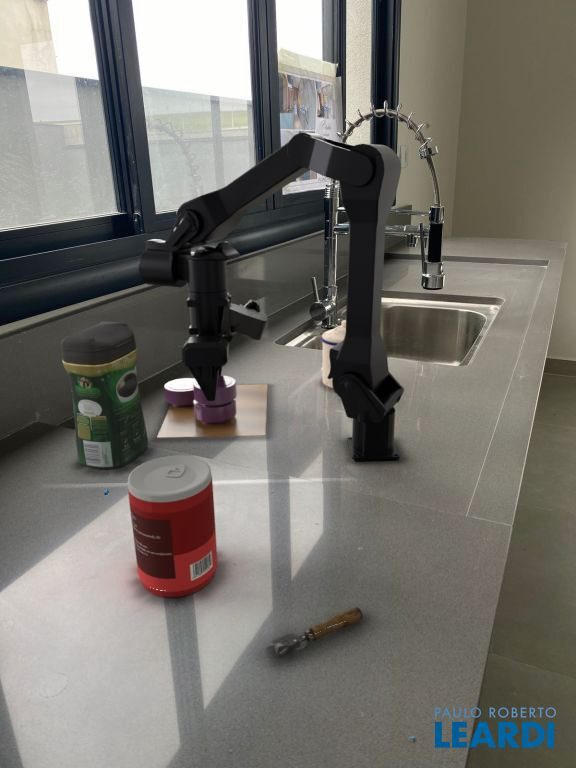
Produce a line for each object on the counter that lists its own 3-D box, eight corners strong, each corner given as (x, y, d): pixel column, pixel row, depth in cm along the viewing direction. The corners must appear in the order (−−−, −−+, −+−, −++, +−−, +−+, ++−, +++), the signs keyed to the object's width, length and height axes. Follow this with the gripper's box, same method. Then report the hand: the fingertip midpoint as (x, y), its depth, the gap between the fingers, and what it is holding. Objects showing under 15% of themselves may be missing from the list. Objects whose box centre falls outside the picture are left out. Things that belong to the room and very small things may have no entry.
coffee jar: (110, 438, 89) (94, 315, 83) (156, 445, 87) (144, 319, 81) (67, 468, 81) (46, 333, 74) (118, 476, 78) (100, 338, 72)
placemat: (265, 437, 89) (265, 435, 89) (156, 440, 89) (156, 437, 88) (267, 386, 109) (267, 384, 109) (179, 388, 109) (179, 385, 109)
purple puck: (237, 407, 91) (236, 388, 90) (193, 409, 90) (192, 390, 89) (236, 391, 97) (235, 373, 96) (194, 394, 96) (193, 376, 95)
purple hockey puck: (202, 408, 99) (201, 390, 98) (162, 409, 99) (160, 391, 98) (207, 393, 105) (206, 377, 104) (169, 394, 105) (167, 378, 104)
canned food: (220, 547, 63) (214, 453, 60) (214, 598, 56) (207, 494, 52) (147, 549, 63) (136, 455, 59) (131, 601, 56) (118, 497, 52)
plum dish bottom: (235, 425, 92) (234, 407, 91) (192, 426, 92) (190, 408, 91) (237, 409, 98) (236, 391, 97) (197, 410, 98) (195, 392, 97)
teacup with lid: (359, 395, 104) (361, 329, 100) (312, 387, 109) (312, 324, 105) (383, 374, 114) (386, 314, 110) (339, 368, 118) (340, 309, 114)
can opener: (357, 614, 53) (357, 603, 53) (370, 631, 51) (370, 620, 51) (261, 646, 50) (261, 635, 50) (272, 666, 48) (271, 654, 48)
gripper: (261, 302, 79) (265, 411, 85) (264, 277, 97) (267, 369, 102) (176, 303, 79) (185, 413, 85) (195, 278, 97) (201, 370, 102)
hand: (214, 389), depth 93 cm, fingers open, 9 cm apart
